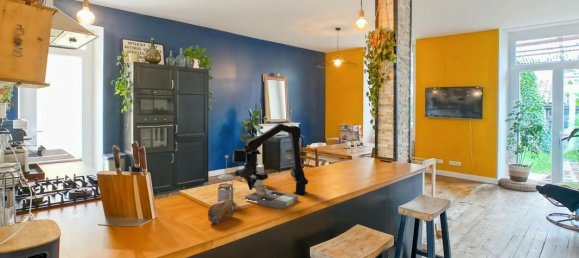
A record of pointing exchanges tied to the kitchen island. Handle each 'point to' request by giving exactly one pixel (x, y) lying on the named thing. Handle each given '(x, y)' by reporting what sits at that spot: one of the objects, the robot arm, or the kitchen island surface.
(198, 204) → the kitchen island surface
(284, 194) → the board
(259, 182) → the supplement box
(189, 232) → the kitchen island surface
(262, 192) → the maple block
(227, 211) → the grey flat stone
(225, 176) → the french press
